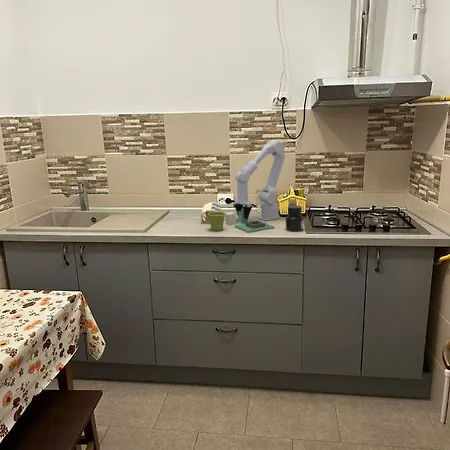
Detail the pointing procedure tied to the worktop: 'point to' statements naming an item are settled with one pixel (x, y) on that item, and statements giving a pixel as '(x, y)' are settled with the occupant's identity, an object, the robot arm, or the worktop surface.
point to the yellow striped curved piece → (210, 209)
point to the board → (254, 226)
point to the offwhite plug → (230, 218)
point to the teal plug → (241, 217)
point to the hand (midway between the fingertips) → (242, 217)
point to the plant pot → (216, 220)
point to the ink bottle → (294, 219)
